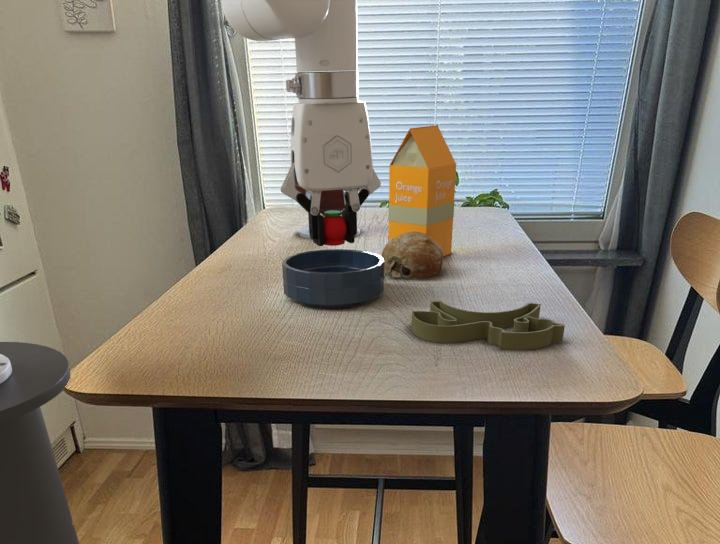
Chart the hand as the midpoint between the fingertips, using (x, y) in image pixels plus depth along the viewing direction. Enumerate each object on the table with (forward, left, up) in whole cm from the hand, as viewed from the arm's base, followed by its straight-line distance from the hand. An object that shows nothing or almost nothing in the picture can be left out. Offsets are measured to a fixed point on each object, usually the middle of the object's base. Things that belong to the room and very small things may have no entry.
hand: (333, 241), depth 92 cm
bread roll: (+16, +8, -8) cm, 19 cm away
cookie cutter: (+12, -22, -8) cm, 26 cm away
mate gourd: (+14, +42, -8) cm, 45 cm away
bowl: (0, 0, -8) cm, 8 cm away
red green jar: (0, 0, 0) cm, 0 cm away
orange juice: (+22, +18, -8) cm, 29 cm away
